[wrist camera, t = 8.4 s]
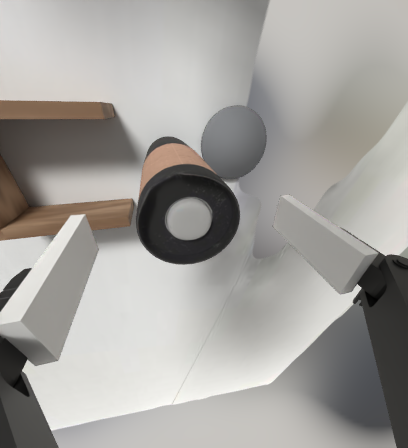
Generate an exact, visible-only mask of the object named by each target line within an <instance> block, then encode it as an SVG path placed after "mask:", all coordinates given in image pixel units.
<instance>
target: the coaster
mask: <svg viewBox="0 0 408 448" xmlns="http://www.w3.org/2000/svg"><path fill="white" fill-rule="evenodd" d="M265 146H266V129H265V126H264V123H263V121H262V119H261V117H260V116H259V115H258V114H257V113H256V112H255V111H254V110H252V109H250V108H248V107H245V106H230V107H227V108H224V109H222V110H220V111H219V112H218V113H216V114H215V115H214V116H213V117H212V118H211V119H210V121H209V122H208V124H207V125H206V127H205V130H204V132H203V136H202V141H201V151H202V156H203V159H204V161H205V162H206V163H207V164H208V165H209V166H210V168H211V169H212V170H213V171H214V172H215V173H216V174H217V175H218V176H219V177H221V178H225V179H235V178H239V177H242V176H244V175H246V174H248V173H249V172H250V171H251V170H253V169H254V168H255V166H256V165H257V164H258V163H259V161H260V159H261V158H262V155H263V153H264V150H265Z"/></svg>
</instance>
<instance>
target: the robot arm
mask: <svg viewBox="0 0 408 448" xmlns="http://www.w3.org/2000/svg"><path fill="white" fill-rule="evenodd" d="M273 228H274V229H275V230H276V231H277V232H278V233H279V234H280V235H281V236H282V237H283V238H284V239H285V240H286V241H287V242H288V243H289V244H290V245H291V246H292V247H293V248H294V249H295V250H296V251H297V252H298V253H299V254H300V255H301V256H302V257H303V258H304V259H305V260H306V261H307V262H308V263H309V264H310V265H311V266H312V267H313V268H314V269H315V270H316V271H317V272H318V273H319V274H320V275H321V276H322V277H323V278H324V279H325V280H326V281H327V282H328V283H329V284H330V285H331V286H332V287H333V288H334V289H335V290H336V291H337V292H338V293H339V294H344V293H349V292H352V291H353V289H354V288H355V286H356V285H357V284H358V285H359V286H360V287H361V288H362V289H361V290H360V291H359V293H358V294H357V296H356V297H355V298H354V300H353V303H354V304H355V303H356V302H357V301H358V300H361V303H360V304H359V305H360V306H363V310H364V314H365V319H366V323H367V327H368V331H369V335H370V339H371V343H372V347H373V352H374V356H375V360H376V364H377V368H378V372H379V376H380V380H381V384H382V389H383V392H384V397H385V401H386V405H387V409H388V413H389V418H390V421H391V426H392V429H393V434H394V438H395V442H396V446H397V448H408V259H407V258H404V257H401V256H398V255H387V256H385V255H383V254H382V253H380V252H378V251H377V250H375V249H374V248H372V247H371V246H369V245H368V244H366V243H365V242H363V241H361V240H358V238H357V237H355V236H354V235H352V234H351V233H349V232H348V231H346V230H344V229H342V228H340V227H338V226H337V225H335V224H334V223H332V222H330V221H329V220H327V219H326V218H324V217H323V216H321V215H320V214H318V213H317V212H315V211H314V210H312V209H311V208H309V207H307V206H306V205H304V204H303V203H301V202H300V201H298V200H297V199H295V198H294V197H292V196H291V195H283V196H280V199H279V203H278V207H277V211H276V215H275V219H274V223H273ZM98 250H99V249H98V246H97V243H96V241H95V238H94V236H93V233H92V230H91V228H90V225H89V223H88V220H87V218H86V215H85V214H81V215H71V216H70V217H69V219H68V220H67V221H66V223H65V224H64V225H63V227H62V228H61V230H60V231H59V232H58V234H57V235H56V236H55V238H54V239H53V241H52V242H51V243H50V245H49V246H48V247H47V249H46V250H45V252H44V253H43V254H42V256H41V257H40V258H39V260H38V261H37V263H36V264H35V265H34V267H33V268H29V269H24V270H23V271H21V272H20V273H19V274H17V275H16V276H15V277H14V278H12V279H11V280H10V282H9V283H8V284H7V285H6V287H5V288H4V289H3V291H2V292H1V293H0V448H58V445H57V443H56V441H55V438H54V436H53V434H52V432H51V430H50V427H49V425H48V423H47V421H46V418H45V416H44V414H43V412H42V410H41V407H40V405H39V403H38V401H37V398H36V396H35V394H34V392H33V390H32V387H31V385H30V383H29V381H28V378H27V376H26V374H25V373H24V372H22V369H23V367H24V365H25V363H26V361H27V359H28V360H29V361H30V362H31V363H32V364H34V365H35V366H38V365H42V364H46V363H50V362H55V361H58V360H59V358H60V355H61V352H62V349H63V347H64V344H65V341H66V338H67V336H68V333H69V330H70V327H71V325H72V322H73V319H74V316H75V314H76V311H77V308H78V305H79V303H80V300H81V297H82V294H83V292H84V289H85V286H86V283H87V281H88V278H89V275H90V272H91V270H92V267H93V264H94V261H95V259H96V256H97V253H98Z"/></svg>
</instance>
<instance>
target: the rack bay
mask: <svg viewBox="0 0 408 448" xmlns="http://www.w3.org/2000/svg"><path fill="white" fill-rule="evenodd" d="M112 117H115V116H114V111H113V106H112V104H110V103H103V102H61V101H3V100H0V119H107V118H112ZM133 209H134V205H133V200H132V199H121V200H109V201H97V202H85V203H73V204H61V205H49V206H37V207H29V205H28V203H27V202H26V200H25V198H24V196H23V194H22V192H21V191H20V189H19V187H18V185H17V183H16V182H15V180H14V178H13V176H12V174H11V172H10V171H9V169H8V167H7V165H6V163H5V161H4V160H3V158H2V156H1V154H0V241H1V240H10V239H19V238H28V237H37V236H46V235H55V234H58V232H59V231H60V230H61V228H62V227H63V225H64V224H65V223H66V221H67V220H68V219H69V217H70V216H71V215H81V214H85V215H86V218H87V220H88V223H89V225H90V228H91V230H100V229H109V228H118V227H127V226H130V225H131V219H132V214H133Z"/></svg>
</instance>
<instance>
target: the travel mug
mask: <svg viewBox="0 0 408 448" xmlns="http://www.w3.org/2000/svg"><path fill="white" fill-rule="evenodd" d="M239 220H240V210H239V205H238V201H237V199H236V197H235V195H234V193H233V192H232V190H231V189H230V188H229V187H228V186H227V185H226V184H225V182H224V181H223V180H222V179H221V178H220V177H219V176H218V175H217V174H216V173H215V172H214V171H213V170H212V169H211V168H210V166H209V165H208V164H207V163H206V162H205V161H204V160H203V159H202V158H201V157H200V156H199V155H198V154H197V153H196V152H195V151H194V150H193V149H192V148H190V147H189V146H188V145H186V144H185V143H184V142H183V141H181V140H179V139H177V138H174V137H162V138H160V139H157V140H156V141H155V142H154V143H152V145H151V146H150V148H149V150H148V152H147V155H146V158H145V162H144V165H143V169H142V177H141V185H140V193H139V200H138V208H137V216H136V228H137V233H138V236H139V238H140V241H141V242H142V244H143V246H144V247H145V248H146V249H147V250H148V251H149V252H150V253H151V254H152V255H154V256H155V257H157V258H158V259H160V260H163V261H165V262H169V263H173V264H183V265H184V264H194V263H198V262H202V261H205V260H207V259H209V258H212V257H213V256H215V255H217V254H218V253H219V252H221V251H222V250H223V249H224V248H225V247H226V246H227V245H228V244H229V243H230V242H231V240H232V239H233V237H234V235H235V234H236V231H237V229H238V225H239Z"/></svg>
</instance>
